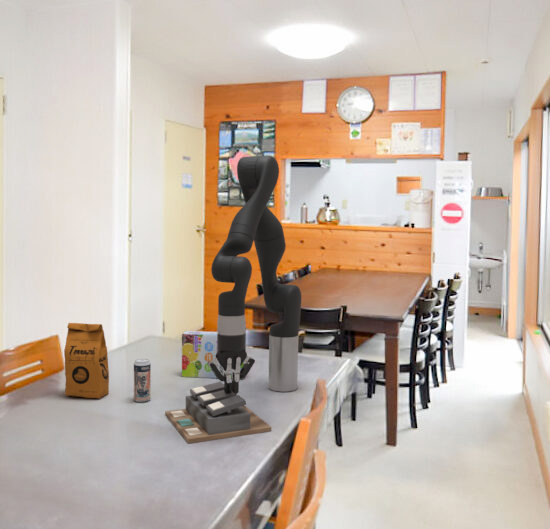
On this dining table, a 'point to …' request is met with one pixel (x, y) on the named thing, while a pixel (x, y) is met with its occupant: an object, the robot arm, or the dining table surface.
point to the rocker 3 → (225, 405)
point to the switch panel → (205, 437)
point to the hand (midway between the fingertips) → (231, 395)
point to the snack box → (199, 354)
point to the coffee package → (86, 361)
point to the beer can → (142, 380)
